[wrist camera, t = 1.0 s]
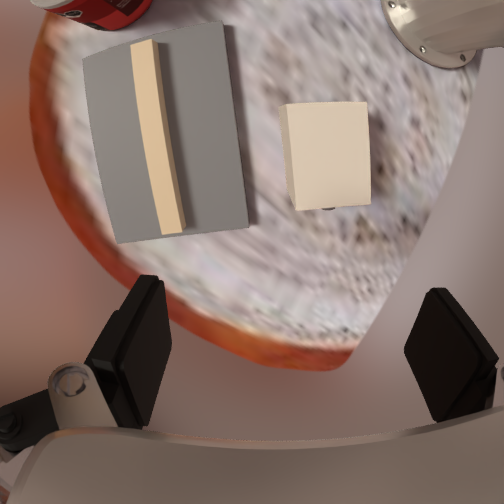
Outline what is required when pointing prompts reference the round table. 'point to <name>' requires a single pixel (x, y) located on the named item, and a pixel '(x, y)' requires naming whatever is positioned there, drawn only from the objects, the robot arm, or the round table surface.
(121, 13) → the canned food
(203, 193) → the mount board
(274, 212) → the round table surface
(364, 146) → the cabinet block
